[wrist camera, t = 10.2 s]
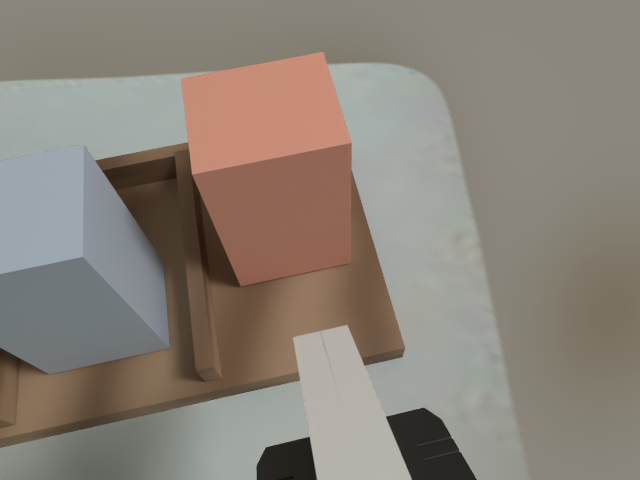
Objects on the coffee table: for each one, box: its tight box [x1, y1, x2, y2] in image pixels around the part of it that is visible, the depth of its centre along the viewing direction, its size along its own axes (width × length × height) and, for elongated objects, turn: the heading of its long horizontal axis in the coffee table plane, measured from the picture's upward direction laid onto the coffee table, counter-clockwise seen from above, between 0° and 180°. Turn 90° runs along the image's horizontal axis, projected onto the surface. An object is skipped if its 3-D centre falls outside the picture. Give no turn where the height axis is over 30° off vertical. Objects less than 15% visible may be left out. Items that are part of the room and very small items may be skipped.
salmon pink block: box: [181, 52, 352, 286], centre depth 25 cm, size 6×5×10 cm
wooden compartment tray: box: [0, 143, 405, 447], centre depth 29 cm, size 29×14×4 cm, turn 102°
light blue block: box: [0, 144, 170, 374], centre depth 23 cm, size 6×5×10 cm
